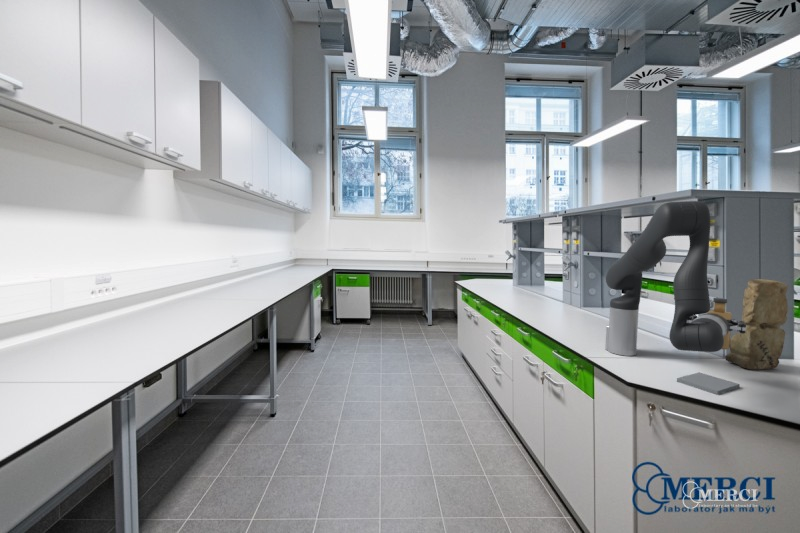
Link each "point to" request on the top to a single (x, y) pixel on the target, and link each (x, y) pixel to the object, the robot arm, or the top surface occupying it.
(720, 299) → the bottle
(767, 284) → the sculpture
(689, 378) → the mat
